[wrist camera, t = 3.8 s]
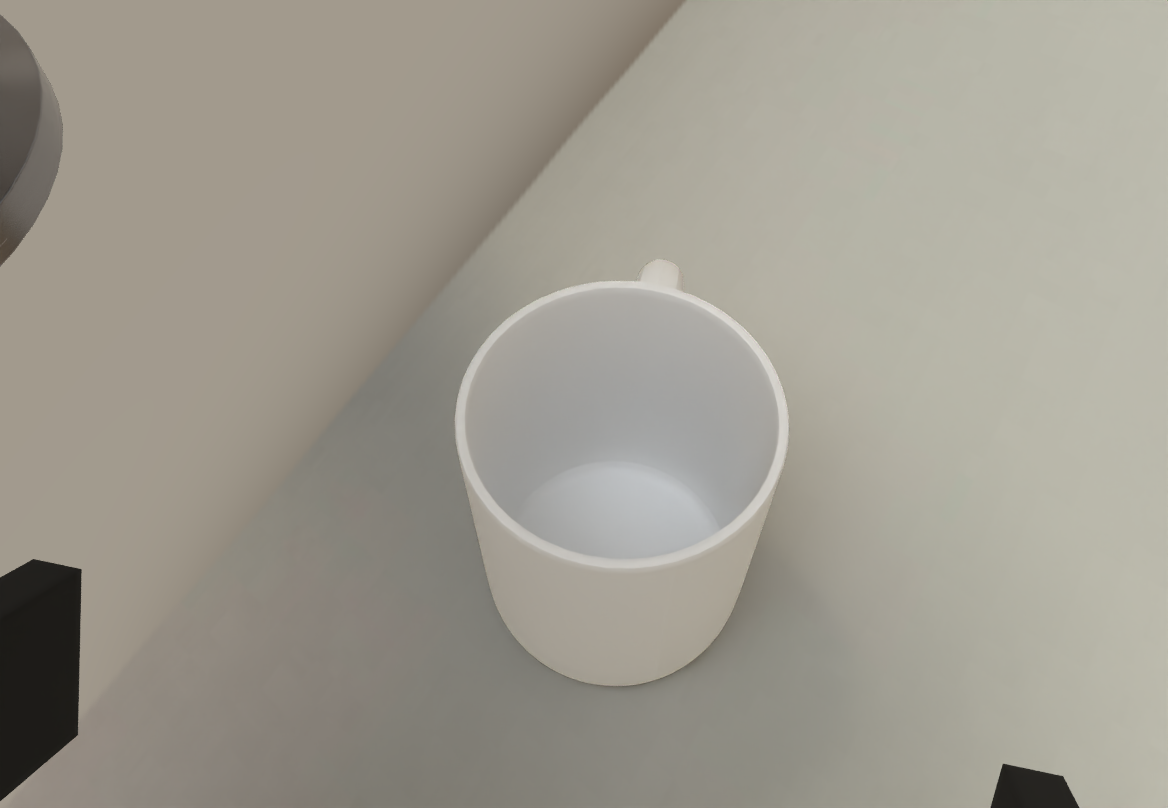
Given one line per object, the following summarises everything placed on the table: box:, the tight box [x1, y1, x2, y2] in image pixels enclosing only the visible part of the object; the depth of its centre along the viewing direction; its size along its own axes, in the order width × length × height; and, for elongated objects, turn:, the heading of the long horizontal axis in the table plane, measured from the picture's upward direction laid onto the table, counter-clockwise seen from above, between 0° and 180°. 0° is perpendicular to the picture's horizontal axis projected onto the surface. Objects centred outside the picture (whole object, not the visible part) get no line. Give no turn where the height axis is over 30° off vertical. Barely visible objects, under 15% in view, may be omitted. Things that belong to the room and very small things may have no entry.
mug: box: [454, 259, 790, 686], centre depth 31 cm, size 12×8×10 cm
